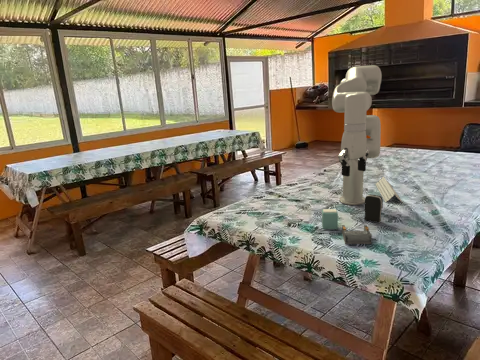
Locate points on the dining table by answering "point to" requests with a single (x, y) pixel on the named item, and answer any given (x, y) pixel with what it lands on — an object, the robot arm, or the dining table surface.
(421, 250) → the dining table surface
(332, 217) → the block
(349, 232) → the tray
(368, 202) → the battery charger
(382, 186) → the corner bead
